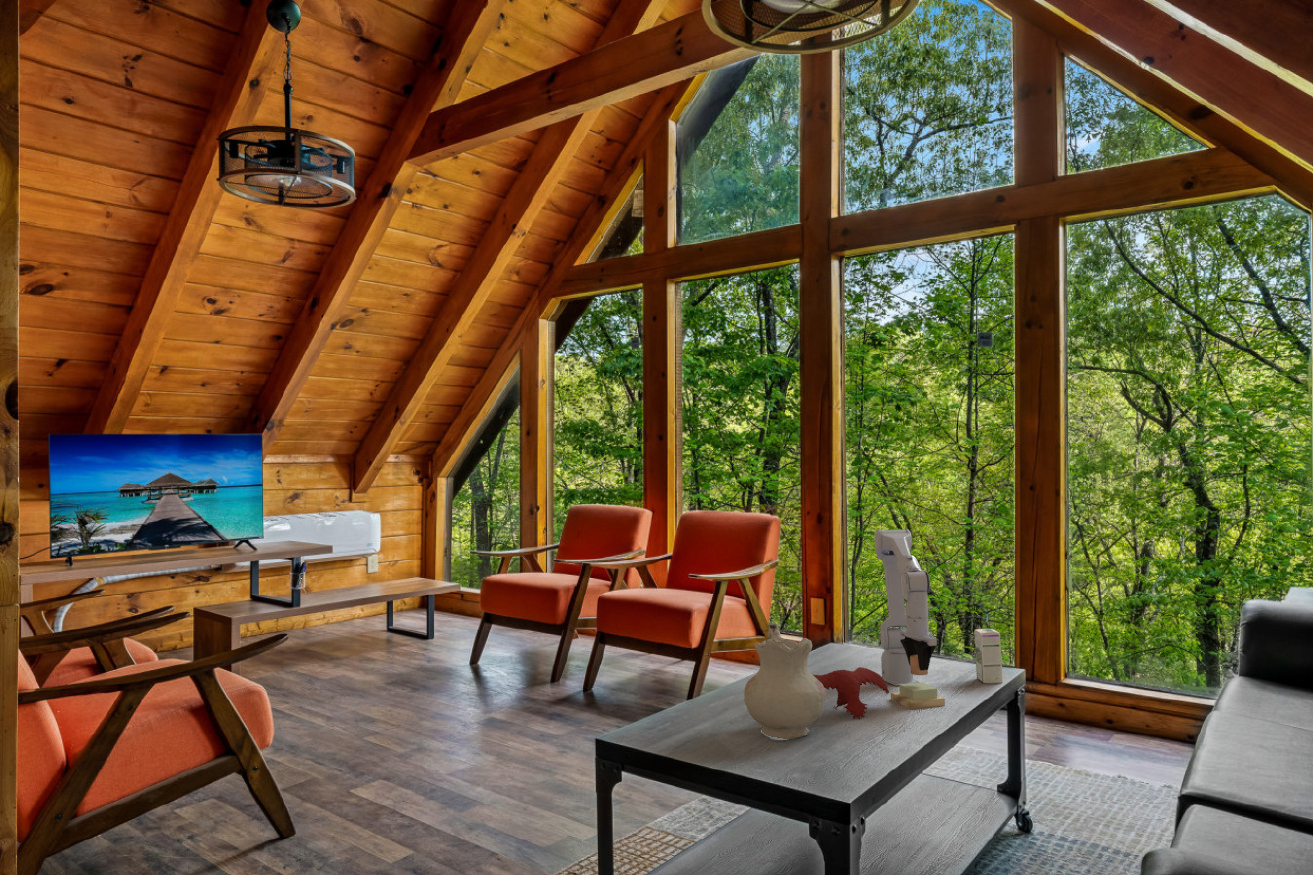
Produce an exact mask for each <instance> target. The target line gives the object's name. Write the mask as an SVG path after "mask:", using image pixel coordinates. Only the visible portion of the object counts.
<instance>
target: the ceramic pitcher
mask: <svg viewBox="0 0 1313 875" xmlns="http://www.w3.org/2000/svg"><path fill="white" fill-rule="evenodd" d="M754 648H755V651H756V653H757V655H758V657H759V663H760V664H759V669H758V671H757V672H756V674H755V675H753V676H752V677H751V678H750V679H748V680H747V681H746V683H745V686H744V691H743V692H744V693H743V694H744V696H743V697H744V700H743V701H744V703H745V707H746V709H747V712H748V714H750V717H751V718H752V719H753V720H754V721H755V722H756V723H757V724H759V725H761V726H762V728H761V729H762V732H763V733H764V734H766V735H768V736H771V737H777V738H783V739H790V740H793V739H797V738H802V737H807V736H808V735H809V734H810V732H811V731H810V729H809V728H808V727H809V726H811V725H812V724H814V723H815V722H816V721H817V720H818V719H819V718H820V716H821V715H822V713H823V710H824V707H825V704H826V703H825V702H826V688H824V687H823V684H822V683H821V682H820V681H819V680H818V679H817V678H815V677H814V676H813V675H814V674H813V675H812V672H811V671H810V669H809V664H808V663H809V657H810V653H811V651H812V648H813V643H812V640H811V639H808V638H806V637H803V638H802V639H801V640H799V641H798V642H797V641H795V640H793V639H792V640H791V639H787V638H783V637H782V635H781V632H780V628H779V625H778V624H776V623H775V622H768V631H767V639H765V640H763V641H762V642H758V641H757V642H755V644H754ZM807 734H808V735H807ZM806 735H807V736H806Z"/></svg>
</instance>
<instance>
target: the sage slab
mask: <svg viewBox="0 0 1313 875" xmlns="http://www.w3.org/2000/svg"><path fill="white" fill-rule="evenodd" d="M919 682H920V681H919ZM898 690H899V692H900V694H901V695H903V696H905V697H907V698H909V699H911V700H913V701H914V700H924V699H934V698H937V695H938V688H936V687H934V686H932V685H929V684H928V683H926V682H923V681H922V682H920V683H909V684H899V688H898Z"/></svg>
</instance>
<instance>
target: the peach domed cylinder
mask: <svg viewBox="0 0 1313 875" xmlns="http://www.w3.org/2000/svg"><path fill="white" fill-rule="evenodd" d="M910 668H911V674H913V676H927V675H928V673H929V669H928V670H920V668H919V662H918V656H917V655H910Z"/></svg>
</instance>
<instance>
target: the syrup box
mask: <svg viewBox="0 0 1313 875" xmlns="http://www.w3.org/2000/svg"><path fill="white" fill-rule="evenodd" d="M974 646H975V648H974V649H975V651H974V652H975V670H976V679H977V680H978V681H980V682H981V683H982V684H1002V683H1003V666H1002V665H1003V664H1002V662H1003V661H1002V649H1001V648H1002V646H1001V633H1000V632H999V631H997V630H996V629H993V628H978V629H974Z"/></svg>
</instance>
